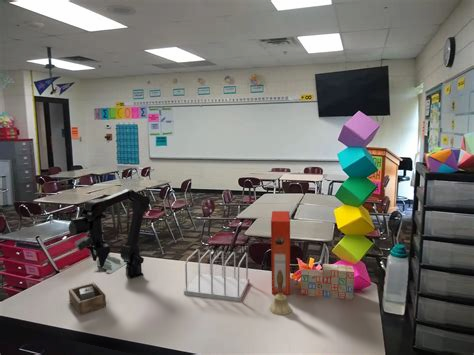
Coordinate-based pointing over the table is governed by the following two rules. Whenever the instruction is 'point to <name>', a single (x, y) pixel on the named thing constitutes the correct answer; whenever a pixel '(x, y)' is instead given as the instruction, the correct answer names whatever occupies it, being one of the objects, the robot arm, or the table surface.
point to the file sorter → (217, 281)
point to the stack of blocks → (328, 281)
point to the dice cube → (86, 293)
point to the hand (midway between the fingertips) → (98, 264)
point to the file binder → (280, 249)
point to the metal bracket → (111, 264)
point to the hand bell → (280, 299)
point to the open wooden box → (87, 304)
